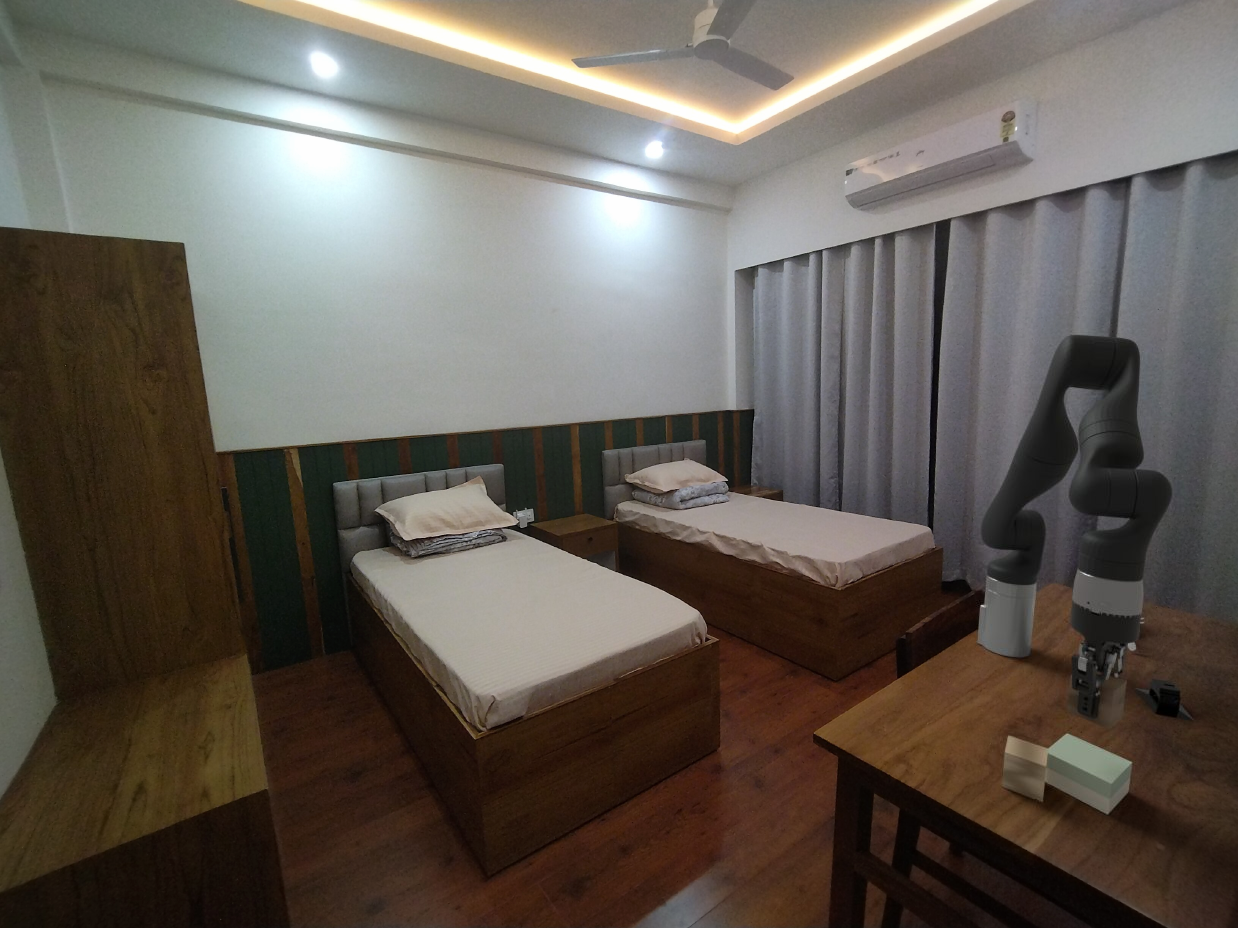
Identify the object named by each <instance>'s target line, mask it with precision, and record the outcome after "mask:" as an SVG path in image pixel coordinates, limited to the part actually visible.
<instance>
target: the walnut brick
mask: <svg viewBox="0 0 1238 928" xmlns="http://www.w3.org/2000/svg"><path fill="white" fill-rule="evenodd" d="M1096 673H1097V674H1100V675H1101V674H1102V673H1103V672H1100V671H1096ZM1127 682H1128V681H1127V680H1126V679H1125V678H1124V679H1123V678H1121V677H1119V676H1118V677H1114V676H1111V675H1110V676H1109V680H1108V681H1107V682H1103V685H1102V689H1101V695H1100V699H1099V709H1098V716H1097V717H1096V718H1095V719H1092V718H1089V717H1087V716H1084V715H1082V714H1080V713H1079V712H1078V711H1077V707H1078V697H1079V691H1076V690H1074V689H1072V674H1070V676H1069V688H1068V697H1067V698H1068V699H1067V705H1066V708H1067V709H1066V712H1067V713H1069V714H1071V715H1074V716H1076V717H1078V718H1081V719H1084V720H1086V721H1089V722H1090V723H1093V724H1095V725H1098V726H1100V727H1103V728H1105V729H1106V730H1107V729H1108V730H1110V729H1112V728H1113V727H1114V726H1115V725H1116V724H1117V723H1119V721H1121V720H1122V719H1123V717H1124V707H1125V700H1126V699H1125V698H1126V690H1127ZM1085 684H1088V682H1086V681H1085ZM1088 685H1089V684H1088Z"/></svg>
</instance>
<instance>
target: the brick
mask: <svg viewBox="0 0 1238 928" xmlns="http://www.w3.org/2000/svg"><path fill="white" fill-rule="evenodd" d="M1006 740H1007V741H1006V744H1005V749H1004V756H1003V768H1002V781H1001V787H1003V788H1005V789H1006V790H1007V789H1008V790H1010V791H1012V792H1015V793H1018V794H1019V795H1022V796H1025V797H1028V798H1030V799H1033V800H1035V799H1037V800H1036V801H1038V800H1039V802H1040V801H1041V803H1043V802H1044V794H1045V785H1046V784H1045V783H1046V782H1045V774H1046V764H1047V754H1048V747H1044V746H1042V745H1038V744H1035V743H1032V742H1029V741H1026V740H1023V739H1020V738H1017V737H1015V736H1012V735H1008V736H1007V739H1006Z"/></svg>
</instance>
